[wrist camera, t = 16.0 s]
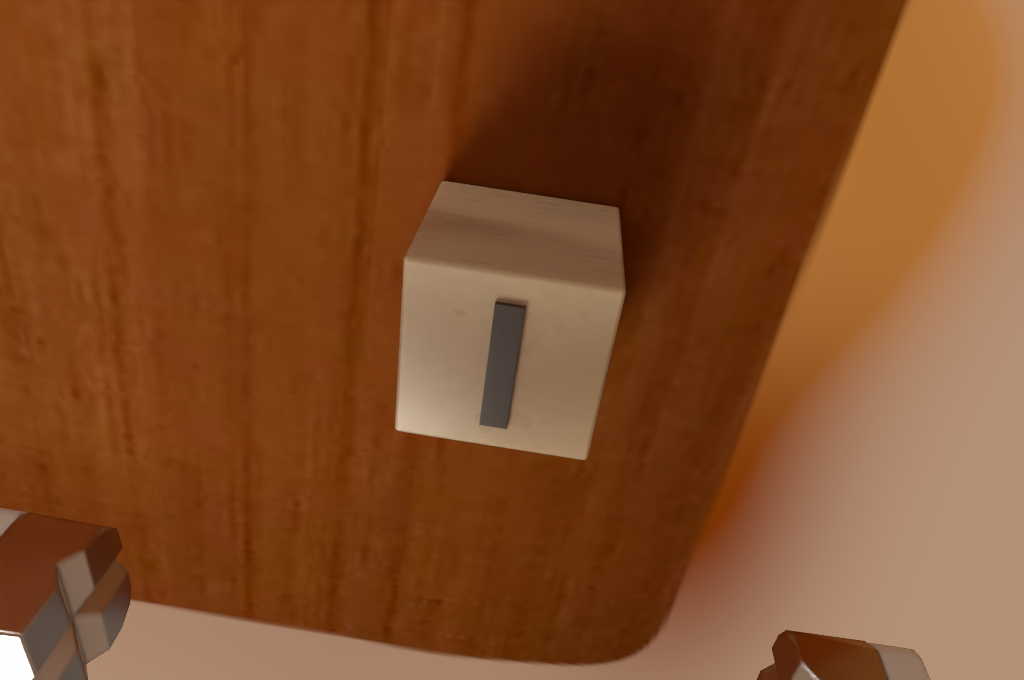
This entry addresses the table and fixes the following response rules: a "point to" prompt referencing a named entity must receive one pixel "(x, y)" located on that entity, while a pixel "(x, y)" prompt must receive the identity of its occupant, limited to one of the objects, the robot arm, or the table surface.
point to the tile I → (509, 319)
